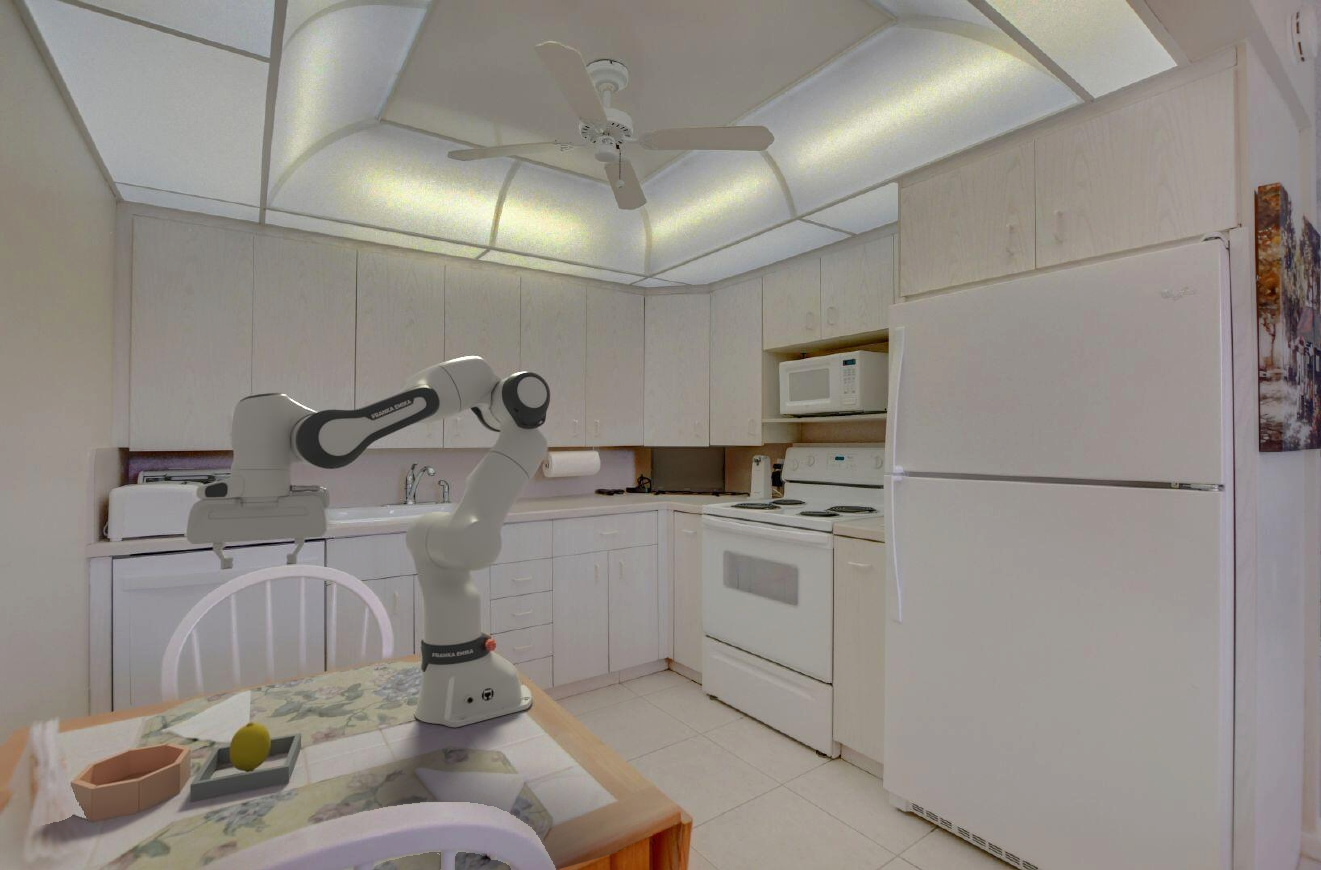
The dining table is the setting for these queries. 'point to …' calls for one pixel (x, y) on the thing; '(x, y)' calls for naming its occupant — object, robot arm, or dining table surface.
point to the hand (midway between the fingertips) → (260, 566)
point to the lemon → (250, 747)
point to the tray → (247, 780)
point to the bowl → (132, 780)
